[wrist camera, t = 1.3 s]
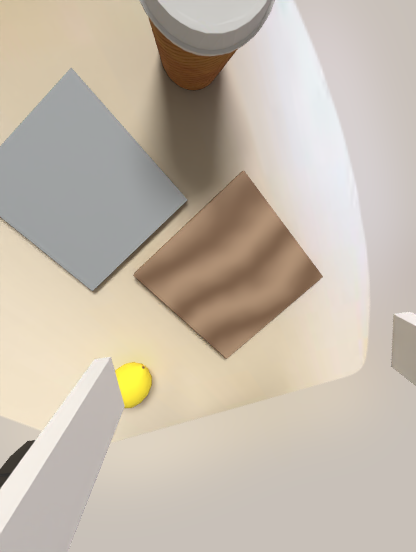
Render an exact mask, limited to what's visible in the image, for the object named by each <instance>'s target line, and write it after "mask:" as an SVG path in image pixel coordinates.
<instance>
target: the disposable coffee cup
mask: <svg viewBox="0 0 416 552" xmlns="http://www.w3.org/2000/svg"><path fill="white" fill-rule="evenodd" d="M140 2H141V4H142V6H143V8H144V10H145V12H146V14H147V15H148V17H149V21H150V24H151V27H152V31H153V34H154V37H155V41H156V45H157V48H158V51H159V54H160V57H161V61H162V64H163V67H164V69H165V71H166V73H167V74H168V76H169V77H170V78H171V80H172V81H173V82H175V83H176V84H177V85H179V86H180V87H182V88H185V89H188V90H198V89H202V88H205V87H206V86H208V85H209V84H210V83H211V82H212V81H213V80H214V79H215V77H216V76H217V75H218V74H219V72H220V71H221V70H222V68H223V67H224V66H225V65H226V63H227V62H228V61H229V59H230V58H231V57H232V56H233V54H234V53H235V52H236V50H237V49H238V48H240V47H242V46H243V45H245V44H246V43H247V42H248V41H249V40H250V39H252V38H253V37H254V36H255V35H256V33H257V32H258V31H259V30H260V28H261V27H262V25H263V24H264V22H265V21H266V19H267V17H268V16H269V14H270V12H271V9H272V7H273V4H274V2H275V0H140Z"/></svg>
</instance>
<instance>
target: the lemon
mask: <svg viewBox="0 0 416 552" xmlns="http://www.w3.org/2000/svg"><path fill="white" fill-rule="evenodd" d="M115 373H116V377H117V381H118V384H119V388H120V391H121V395H122V398H123V402H124V406H125V407H124V408H132V407H134V406H136V405H138V404H140V403H141V402H142V401H143V400H144V398H145V397H146V396H147V395H148V393H149V390H150V388H151V385H152V376H151V374H150V373H149V370H148V368H146V367H145V366H144V365H143V364H140V363H135V362H133V363H128V364H124V365H123V366H121V367H120V368H118V369H117V370H116V371H115Z"/></svg>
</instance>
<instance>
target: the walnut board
mask: <svg viewBox="0 0 416 552" xmlns="http://www.w3.org/2000/svg"><path fill="white" fill-rule="evenodd" d="M133 276H135V277H136V278H137V279H138V280H139V281H140V282H141V283H142V284H144V285H145V286H146V287H147V288H148V289H149V290H150V291H151V292H152V293H154V294H155V295H156V296H157V297H158V298H159V299H160V300H161V301H163V302H164V303H165V304H166V305H167V306H168V307H169V308H170V309H172V310H173V311H174V312H175V313H176V314H177V315H178V316H179V317H180V318H182V319H183V320H184V321H185V322H186V323H187V324H188V325H189V326H191V327H192V328H193V329H194V330H195V331H196V332H197V333H198V334H200V335H201V336H202V337H203V338H204V339H205V340H206V341H207V342H208V343H210V344H211V345H212V346H213V347H214V348H215V349H216V350H217V351H219V352H220V353H221V354H222V355H223V356H224V357H225V358H226V359H227V358H228V357H229V356H230V355H231V354H233V353H234V352H235V351H236V350H237V349H238V348H240V347H241V346H242V345H243V344H244V343H245V342H247V341H248V340H249V339H250V338H251V337H253V336H254V335H255V334H256V333H257V332H258V331H260V330H261V329H262V328H263V327H264V326H265V325H267V324H268V323H269V322H270V321H271V320H273V319H274V318H275V317H276V316H277V315H278V314H280V313H281V312H282V311H283V310H284V309H286V308H287V307H288V306H289V305H290V304H291V303H293V302H294V301H295V300H296V299H297V298H298V297H300V296H301V295H302V294H303V293H304V292H306V291H307V290H308V289H309V288H310V287H311V286H313V285H314V284H315V283H316V282H317V281H319V280H320V279H321V278H322V277H323V276H322V275H321V273H320V272H319V271H318V269H317V268H316V267H315V265H314V264H313V263H312V261H311V260H310V259H309V257H308V256H307V255H306V253H305V252H304V251H303V249H302V248H301V247H300V245H299V244H298V243H297V241H296V240H295V238H294V237H293V236H292V234H291V233H290V232H289V230H288V229H287V228H286V226H285V225H284V224H283V222H282V221H281V220H280V218H279V217H278V216H277V214H276V213H275V212H274V210H273V209H272V208H271V206H270V205H269V204H268V202H267V201H266V200H265V198H264V197H263V196H262V194H261V193H260V191H259V190H258V189H257V187H256V186H255V185H254V183H253V182H252V181H251V179H250V178H249V177H248V175H247V174H246V173H245V171H242V172H241V173H240V174H239V175H238V176H236V177H235V178H234V179H233V180H232V181H231V182H230V183H229V184H228V185H227V186H226V187H225V188H224V189H223V190H222V191H221V192H220V193H219V194H217V195H216V196H215V197H214V198H213V199H212V200H211V201H210V202H209V203H208V204H207V205H206V206H205V207H204V208H203V209H202V210H201V211H199V212H198V213H197V214H196V215H195V216H194V217H193V218H192V219H191V220H190V221H189V222H188V223H187V224H186V225H185V226H184V227H183V228H182V229H180V230H179V231H178V232H177V233H176V234H175V235H174V236H173V237H172V238H171V239H170V240H169V241H168V242H167V243H166V244H165V245H164V246H162V247H161V248H160V249H159V250H158V251H157V252H156V253H155V254H154V255H153V256H152V257H151V258H150V259H149V260H148V261H147V262H146V263H145V264H143V265H142V266H141V267H140V268H139V269H138V270H137V271H136V272H135V273H134V275H133Z"/></svg>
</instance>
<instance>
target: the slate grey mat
mask: <svg viewBox="0 0 416 552" xmlns="http://www.w3.org/2000/svg"><path fill="white" fill-rule="evenodd" d="M186 201H187V199H186V197H185V196H184V195H183V194H182V193H181V192H180V191H179V189H178V188H177V187H176V186H175V185H174V184H173V183H172V182H171V180H170V179H169V178H168V177H167V176H166V175H165V174H164V172H163V171H162V170H161V169H160V168H159V167H158V166H157V164H156V163H155V162H154V161H153V160H152V159H151V158H150V157H149V155H148V154H147V153H146V152H145V151H144V150H143V149H142V147H141V146H140V145H139V144H138V143H137V142H136V141H135V139H134V138H133V137H132V136H131V135H130V134H129V133H128V132H127V130H126V129H125V128H124V127H123V126H122V125H121V124H120V122H119V121H118V120H117V119H116V118H115V117H114V116H113V114H112V113H111V112H110V111H109V110H108V109H107V108H106V107H105V105H104V104H103V103H102V102H101V101H100V100H99V99H98V97H97V96H96V95H95V94H94V93H93V92H92V91H91V89H90V88H89V87H88V86H87V85H86V84H85V83H84V82H83V80H82V79H81V78H80V77H79V76H78V75H77V74H76V72H75V71H74V70H73V69H72V68H70V69H69V71H68V72H67V73H66V74H65V75H64V76H63V77H62V78H61V79H60V81H59V82H58V83H57V84H56V85H55V86H54V87H53V88H52V89H51V91H50V92H49V93H48V94H47V95H46V96H45V97H44V98H43V99H42V100H41V102H40V103H39V104H38V105H37V106H36V107H35V108H34V109H33V110H32V112H31V113H30V114H29V115H28V116H27V117H26V118H25V119H24V120H23V122H22V123H21V124H20V125H19V126H18V127H17V128H16V129H15V130H14V132H13V133H12V134H11V135H10V136H9V137H8V138H7V139H6V140H5V142H4V143H3V144H2V145H1V146H0V217H1V218H2V219H4V220H5V221H6V222H7V223H8V224H10V225H11V226H12V227H13V228H15V229H16V230H17V231H18V232H20V233H21V234H22V235H23V236H25V237H26V238H27V239H28V240H30V241H31V242H32V243H33V244H35V245H36V246H37V247H38V248H39V249H41V250H42V251H43V252H44V253H46V254H47V255H48V256H49V257H51V258H52V259H53V260H54V261H56V262H57V263H58V264H59V265H61V266H62V267H63V268H64V269H66V270H67V271H68V272H69V273H71V274H72V275H73V276H74V277H75V278H77V279H78V280H79V281H80V282H82V283H83V284H84V285H85V286H87V287H88V288H89V289H90V290H92V291H93V290H94V289H95V288H96V287H97V286H98V285H99V284H100V283H101V282H102V281H103V280H105V279H106V278H107V277H108V276H109V275H110V274H111V273H112V272H113V271H114V270H115V269H116V268H117V267H118V266H119V265H120V264H121V263H122V262H123V261H124V260H125V259H126V258H127V257H129V256H130V255H131V254H132V253H133V252H134V251H135V250H136V249H137V248H138V247H139V246H140V245H141V244H142V243H143V242H144V241H145V240H146V239H147V238H148V237H149V236H150V235H151V234H152V233H154V232H155V231H156V230H157V229H158V228H159V227H160V226H161V225H162V224H163V223H164V222H165V221H166V220H167V219H168V218H169V217H170V216H171V215H172V214H173V213H174V212H175V211H176V210H178V209H179V208H180V207H181V206H182V205H183V204H184V203H185V202H186Z"/></svg>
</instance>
